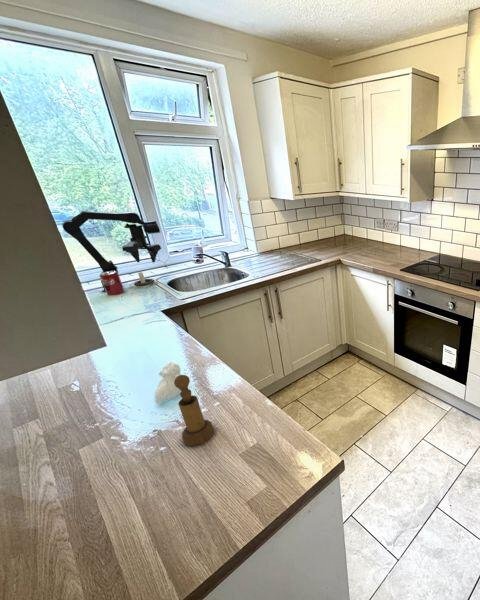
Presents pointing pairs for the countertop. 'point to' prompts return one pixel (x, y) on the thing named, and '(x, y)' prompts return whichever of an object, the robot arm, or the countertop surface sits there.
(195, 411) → the mortar and pestle
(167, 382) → the bust
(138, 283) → the hoop
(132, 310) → the countertop surface
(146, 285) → the peg stand
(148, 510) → the countertop surface
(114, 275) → the soda can
